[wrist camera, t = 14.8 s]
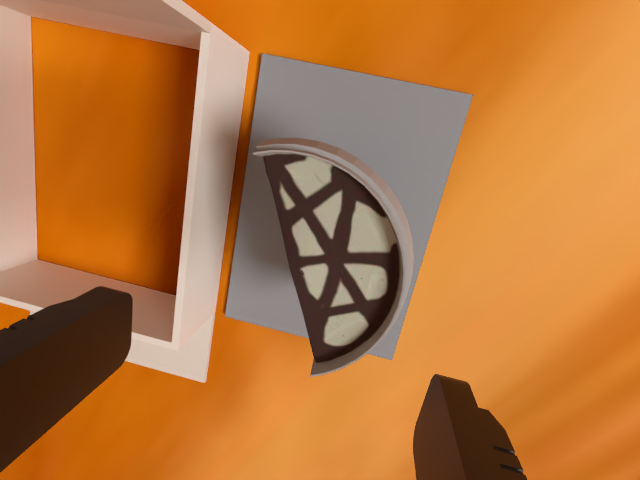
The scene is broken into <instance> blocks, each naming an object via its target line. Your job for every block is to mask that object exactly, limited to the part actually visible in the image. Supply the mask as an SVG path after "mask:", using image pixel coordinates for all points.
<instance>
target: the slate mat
mask: <svg viewBox="0 0 640 480" xmlns="http://www.w3.org/2000/svg"><path fill="white" fill-rule="evenodd" d="M472 96H473V95H471V94H466V93H461V92H456V91H451V90H446V89H441V88H436V87H431V86H425V85H420V84H415V83H410V82H405V81H400V80H395V79H390V78H385V77H380V76H375V75H370V74H365V73H359V72H354V71H349V70H344V69H339V68H334V67H329V66H324V65H319V64H314V63H309V62H304V61H299V60H293V59H288V58H283V57H278V56H273V55H268V54H263V53H262V58H261V65H260V72H259V79H258V86H257V93H256V100H255V107H254V114H253V122H252V129H251V136H250V143H249V150H248V157H247V164H246V171H245V178H244V185H243V192H242V199H241V206H240V213H239V220H238V227H237V234H236V242H235V249H234V256H233V263H232V270H231V277H230V284H229V291H228V298H227V305H226V312H225V317H229V318H233V319H237V320H241V321H244V322H248V323H252V324H256V325H260V326H263V327H267V328H271V329H275V330H279V331H283V332H286V333H290V334H294V335H298V336H302V337H305V338H309V336H308V332H307V328H306V324H305V321H304V317H303V313H302V309H301V306H300V302H299V299H298V295H297V292H296V289H295V285H294V282H293V279H292V275H291V272H290V269H289V264H288V259H287V254H286V250H285V245H284V240H283V235H282V231H281V227H280V222H279V218H278V213H277V209H276V205H275V201H274V197H273V193H272V189H271V185H270V182H269V179H268V176H267V174H266V169H265V164H264V160H263V157H261V156H257V155H253V153H254V152H257V149H256V146H257V145H259V144H260V143H261V142H262V141H265V140H271V139H278V138H303V139H309V140H315V141H320V142H323V143H326V144H329V145H332V146H335V147H338V148H341V149H342V150H344V151H346V152H348V153H350V154H352V155H353V156H355V157H357V158H359V159H360V160H361V161H363V162H364V163H365V164H367V165H368V166H369V167H370V168H372V169H373V170H374V171H375V172H376V173H377V174H378V175H379V176H380V177H381V178H382V179H383V180H384V181H385V182H386V184H387V185H388V186H389V187H390V189H391V190H392V192H393V193H394V195H395V196H396V198H397V199H398V201H399V202H400V205H401V207H402V209H403V211H404V214H405V216H406V218H407V220H408V224H409V228H410V232H411V236H412V241H413V253H414V262H413V273H412V279H411V282H410V286H409V290H408V294H407V297H406V300H405V303H404V305H403V308H402V310H401V312H400V314H399V316H398V318H397V320H396V322H395V323H394V325H393V326H392V328H391V329H390V331H389V332H388V333H387V335H386V336H385V337H384V338H383V339H382V340H381V341H380V342H379V343H378V344H377V345H376V346H375V347H374V348H373V349H372V350H371V351H369V352H368V353H367V354H370V355H374V356H378V357H382V358H385V359H389V360H392V358H393V355H394V352H395V348H396V345H397V342H398V339H399V335H400V332H401V329H402V326H403V322H404V319H405V316H406V312H407V309H408V306H409V303H410V299H411V296H412V293H413V290H414V286H415V283H416V280H417V276H418V273H419V270H420V267H421V263H422V260H423V257H424V254H425V250H426V247H427V244H428V240H429V237H430V234H431V231H432V227H433V224H434V221H435V218H436V214H437V211H438V208H439V204H440V201H441V198H442V195H443V191H444V188H445V185H446V182H447V178H448V175H449V172H450V168H451V165H452V162H453V159H454V155H455V152H456V149H457V146H458V142H459V139H460V136H461V132H462V129H463V126H464V123H465V119H466V116H467V113H468V110H469V106H470V103H471V100H472Z"/></svg>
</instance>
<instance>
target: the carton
mask: <svg viewBox="0 0 640 480" xmlns="http://www.w3.org/2000/svg"><path fill="white" fill-rule="evenodd" d="M31 17H36V18H41V19H46V20H51V21H56V22H61V23H66V24H71V25H76V26H81V27H86V28H91V29H96V30H101V31H106V32H111V33H116V34H121V35H126V36H131V37H136V38H141V39H146V40H151V41H156V42H161V43H166V44H171V45H176V46H181V47H186V48H191V49H196V50H200V52H199V63H198V73H197V84H196V94H195V105H194V115H193V125H192V136H191V146H190V157H189V167H188V178H187V188H186V199H185V209H184V220H183V230H182V240H181V251H180V261H179V272H178V282H177V293H176V295H172V294H168V293H165V292H161V291H157V290H153V289H149V288H145V287H142V286H138V285H134V284H130V283H126V282H122V281H119V280H115V279H111V278H107V277H103V276H99V275H95V274H92V273H88V272H84V271H80V270H76V269H72V268H69V267H65V266H61V265H57V264H53V263H49V262H46V261H42V260H38V258H37V221H36V184H35V148H34V111H33V74H32V37H31ZM249 55H250V52H249V51H248V50H247V49H245V48H244V47H243V46H241V45H240V44H239V43H237V42H236V41H235V40H233V39H232V38H231V37H229V36H228V35H227V34H225V33H224V32H223V31H221V30H220V29H219V28H217V27H216V26H215V25H214V24H212V23H211V22H210V21H208V20H207V19H206V18H204V17H203V16H202V15H200V14H199V13H198V12H196V11H195V10H194V9H192V8H191V7H190V6H188V5H187V4H186V3H184V2H183V1H182V0H0V302H1V303H4V304H8V305H12V306H15V307H19V308H23V309H26V310H30V315H32V314H34V313H36V312H38V311H40V310H42V309H44V308H46V307H48V306H50V305H54V304H57V303H61V302H65V301H68V300H72V299H74V298H76V297H78V296H80V295H82V294H84V293H86V292H88V291H90V290H92V289H94V288H96V287H98V286H103V287H107V288H111V289H115V290H119V291H123V292H127V293H129V294H130V295H131V296H132V299H133V311H132V336H131V347H130V351H129V353H128V356H127V358H126V359H125V361H128V362H131V363H135V364H138V365H142V366H145V367H149V368H153V369H156V370H160V371H163V372H167V373H170V374H174V375H178V376H181V377H185V378H188V379H192V380H195V381H199V382H203V383H205V381H206V379H207V372H208V364H209V357H210V349H211V341H212V334H213V326H214V319H215V311H216V304H217V296H218V289H219V281H220V274H221V266H222V258H223V251H224V243H225V236H226V228H227V221H228V213H229V206H230V198H231V191H232V183H233V175H234V168H235V160H236V153H237V145H238V138H239V130H240V123H241V115H242V108H243V100H244V92H245V85H246V77H247V70H248V62H249Z"/></svg>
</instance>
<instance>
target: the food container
mask: <svg viewBox="0 0 640 480" xmlns="http://www.w3.org/2000/svg"><path fill="white" fill-rule="evenodd" d="M256 149H257V152H254V153H253V155H257V156H261V157H263V160H264V164H265V169H266V174H267V176H268V179H269V182H270V185H271V189H272V193H273V197H274V201H275V205H276V209H277V213H278V218H279V222H280V227H281V231H282V235H283V240H284V245H285V250H286V254H287V259H288V264H289V269H290V272H291V275H292V279H293V282H294V285H295V289H296V292H297V295H298V299H299V302H300V306H301V309H302V313H303V317H304V321H305V324H306V328H307V332H308V336H309V340H310V344H311V348H312V352H313V356H314V360H313V365H312V370H311V375H310V376H311V377H313V376H318V375H323V374H328V373H331V372H333V371H336V370H339V369H342V368H344V367H346V366H348V365H350V364H352V363H354V362H356V361H357V360H359V359H360V358H361V357H363V356H364V355H365V354H367V353H368V352H369V351H371V350H372V349H373V348H374V347H375V346H376V345H377V344H378V343H379V342H380V341H381V340H382V339H383V338H384V337H385V336H386V335H387V333H388V332H389V331H390V329H391V328H392V326H393V325H394V323H395V322H396V320H397V318H398V316H399V314H400V312H401V310H402V308H403V305H404V303H405V300H406V297H407V294H408V290H409V286H410V282H411V279H412V273H413V262H414V253H413V241H412V236H411V232H410V228H409V224H408V220H407V218H406V216H405V214H404V211H403V209H402V207H401V205H400V202H399V201H398V199H397V198H396V196H395V195H394V193H393V192H392V190H391V189H390V187H389V186H388V185H387V184H386V182H385V181H384V180H383V179H382V178H381V177H380V176H379V175H378V174H377V173H376V172H375V171H374V170H373V169H372V168H370V167H369V166H368V165H367V164H365V163H364V162H363V161H361V160H360V159H359V158H357V157H355V156H353V155H352V154H350V153H348V152H346V151H344V150H342V149H341V148H338V147H335V146H332V145H329V144H326V143H323V142H320V141H315V140H309V139H303V138H278V139H271V140H265V141H262V142H261V143H260V144H259V145H257V146H256Z"/></svg>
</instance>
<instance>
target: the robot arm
mask: <svg viewBox="0 0 640 480" xmlns="http://www.w3.org/2000/svg"><path fill="white" fill-rule="evenodd" d="M132 311H133V299H132V296H131V295H130V294H129V293H127V292H123V291H119V290H115V289H111V288H107V287H103V286H98V287H96V288H94V289H92V290H90V291H88V292H86V293H84V294H82V295H80V296H78V297H76V298H74V299H72V300H68V301H65V302H61V303H57V304H54V305H50V306H48V307H46V308H44V309H42V310H40V311H38V312H36V313H34V314H32V315H30V316H28V318H27V319H22V320H20V321H18V322H16V323H14V324H12V325H10V327H9V328H8V329H7V328H4V329H2V330H0V472H1V471H3V470H4V469H5V468H6V467H7V466H8V465H9V464H10V463H12V462H13V461H14V460H15V459H16V458H17V457H18V456H20V455H21V454H22V453H23V452H24V451H25V450H26V449H27V448H29V447H30V446H31V445H32V444H33V443H34V442H35V441H37V440H38V439H39V438H40V437H41V436H42V435H43V434H45V433H46V432H47V431H48V430H49V429H50V428H51V427H52V426H54V425H55V424H56V423H57V422H58V421H59V420H60V419H62V418H63V417H64V416H65V415H66V414H67V413H68V412H69V411H71V410H72V409H73V408H74V407H75V406H76V405H77V404H79V403H80V402H81V401H82V400H83V399H84V398H85V397H86V396H88V395H89V394H90V393H91V392H92V391H93V390H94V389H96V388H97V387H98V386H99V385H100V384H101V383H102V382H103V381H105V380H106V379H107V378H108V377H109V376H110V375H111V374H113V373H114V372H115V371H116V370H117V369H118V368H119V367H120V366H121V365H122V364H123V362H124V361H125V359H126V358H127V356H128V353H129V351H130V347H131V336H132ZM413 453H414V462H415V470H416V479H417V480H527V478H526V476H525V475H523V469H522V467H521V464H520V462H519V460H518V458H517V456H515V454H514V453H515V451H514V449H513V446H512V444H511V442H510V440H509V437H508V435H507V433H506V431H505V429H504V428H503V427H502V426H501V425H500V423H499V422H498V421H497V420H496V419H495V418H494V416H493V415H492V414H491V413H490V412H489V410H485V409H482V408H478V406H477V403H476V401H475V398H474V395H473V393H472V390H471V388H470V385H469V384H468V383H467V382H465V381H461V380H457V379H454V378H450V377H446V376H442V375H438V374H435V375H434V376H433V377H432V379H431V382H430V385H429V387H428V390H427V393H426V396H425V399H424V402H423V405H422V408H421V411H420V414H419V416H418V419H417V422H416V426H415V431H414V438H413Z"/></svg>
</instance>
